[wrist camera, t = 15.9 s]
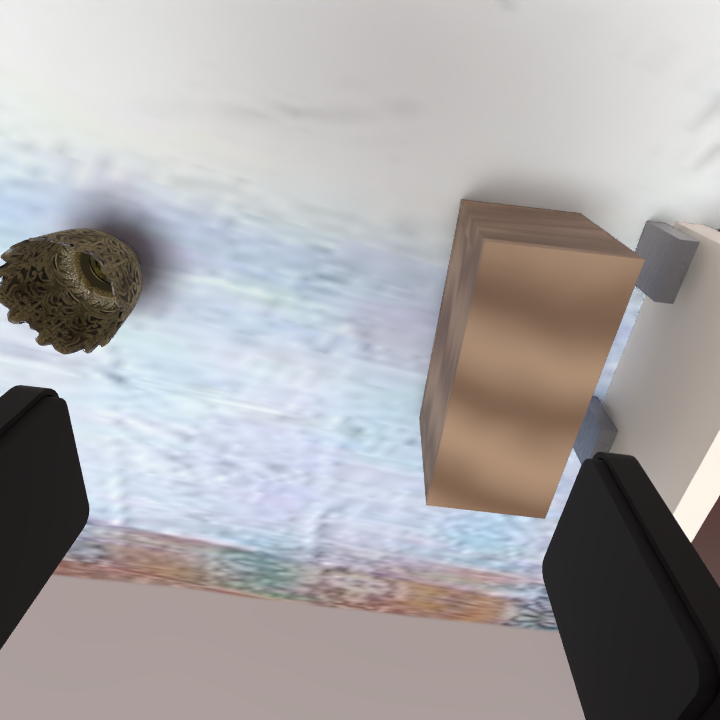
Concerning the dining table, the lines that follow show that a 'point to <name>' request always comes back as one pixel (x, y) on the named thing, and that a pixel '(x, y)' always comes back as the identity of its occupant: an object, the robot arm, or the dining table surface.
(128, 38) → the dining table surface
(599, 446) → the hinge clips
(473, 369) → the cabinet body
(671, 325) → the cabinet door
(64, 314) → the dark textured ornament
